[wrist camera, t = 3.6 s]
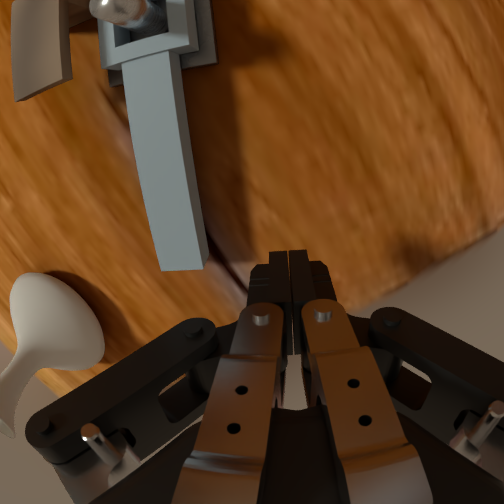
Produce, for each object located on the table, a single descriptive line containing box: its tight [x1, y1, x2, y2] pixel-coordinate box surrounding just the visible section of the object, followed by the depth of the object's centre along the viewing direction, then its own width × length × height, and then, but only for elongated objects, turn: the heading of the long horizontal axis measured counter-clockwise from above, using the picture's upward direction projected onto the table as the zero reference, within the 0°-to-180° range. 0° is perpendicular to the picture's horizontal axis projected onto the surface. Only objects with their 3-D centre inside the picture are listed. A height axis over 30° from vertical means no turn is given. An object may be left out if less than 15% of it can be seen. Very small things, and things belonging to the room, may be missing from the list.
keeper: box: [11, 0, 94, 102], centre depth 13 cm, size 4×7×5 cm, turn 6°
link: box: [98, 0, 209, 271], centre depth 16 cm, size 18×5×2 cm, turn 6°
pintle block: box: [89, 0, 219, 87], centre depth 12 cm, size 7×7×7 cm
